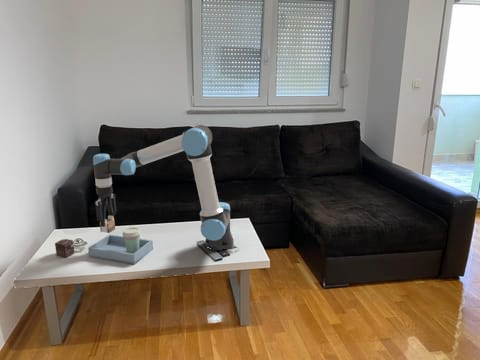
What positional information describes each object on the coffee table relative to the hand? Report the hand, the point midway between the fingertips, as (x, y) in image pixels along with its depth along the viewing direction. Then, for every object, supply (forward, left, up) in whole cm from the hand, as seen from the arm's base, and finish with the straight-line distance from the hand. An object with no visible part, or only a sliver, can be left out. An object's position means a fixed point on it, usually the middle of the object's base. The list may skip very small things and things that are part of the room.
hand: (108, 229), depth 191 cm
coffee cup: (-13, -1, -11) cm, 17 cm away
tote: (-7, 0, -12) cm, 14 cm away
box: (+19, +10, -12) cm, 25 cm away
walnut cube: (0, 0, 0) cm, 1 cm away
